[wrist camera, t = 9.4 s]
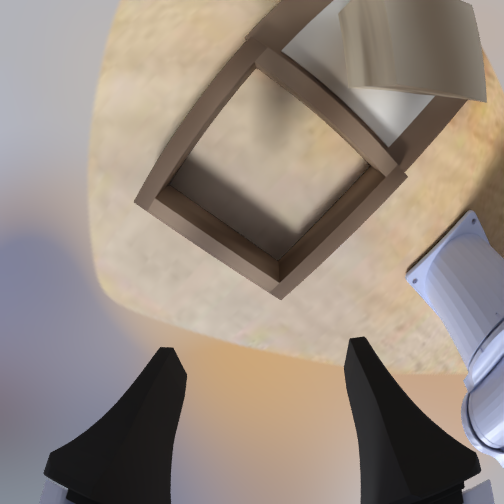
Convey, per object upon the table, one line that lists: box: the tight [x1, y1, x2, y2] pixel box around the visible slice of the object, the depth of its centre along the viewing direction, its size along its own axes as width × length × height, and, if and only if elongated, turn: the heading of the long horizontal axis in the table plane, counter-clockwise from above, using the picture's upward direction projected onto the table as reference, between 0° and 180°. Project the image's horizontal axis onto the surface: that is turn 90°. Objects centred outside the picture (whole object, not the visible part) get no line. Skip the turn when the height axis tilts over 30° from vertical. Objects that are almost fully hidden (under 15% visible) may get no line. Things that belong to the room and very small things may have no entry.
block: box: [338, 0, 487, 103], centre depth 8 cm, size 5×5×6 cm
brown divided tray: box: [134, 0, 468, 300], centre depth 13 cm, size 12×21×2 cm, turn 142°
